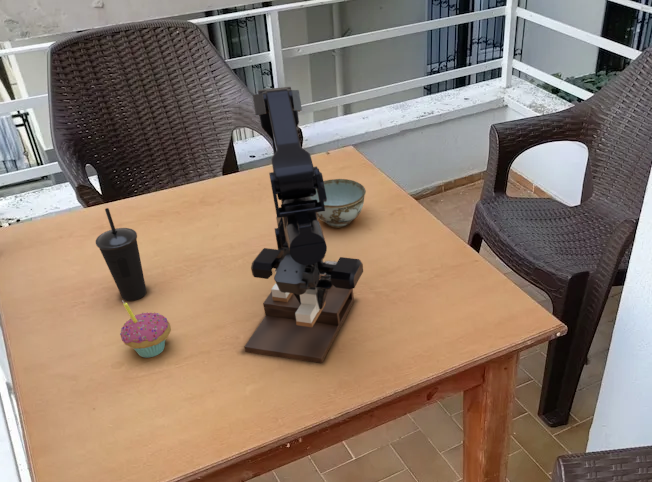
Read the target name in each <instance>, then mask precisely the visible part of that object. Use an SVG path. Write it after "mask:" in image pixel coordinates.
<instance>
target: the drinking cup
mask: <svg viewBox="0 0 652 482" xmlns="http://www.w3.org/2000/svg"><path fill="white" fill-rule="evenodd" d="M104 211H105V214H106V217H107V220H108V223H109V226H110V229H109V230H107V231H104V232H103V233H100V234H99V235H98V236H97V237H96V239H95V245H96V247H97V248H98V249H99V250H100V253H101V255H102V257H103V260H104V261H105V264H106V266H107V268H108V270H109V272H110V275H111V277H112V279H113V281H114V283H115V285H116V287H117V289H118V292H119V294H120V296H121V297H122V300H123V301H127V302H133V301H137V300H141V299H142V298H144V297H145V296H146V295H147V287H146V286H147V285H146V281H145V278H144V271H143V267H142V261H141V255H140V251H139V245H138V240H137V239H138V233H137V231H136V230H134V229H133V228H129V227H117V228H116V227H115V224H114V220H113V218H112V217H113V216H112V215H111V211H110V208H108V207H107V208H104Z"/></svg>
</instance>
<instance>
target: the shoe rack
mask: <svg viewBox="0 0 652 482" xmlns="http://www.w3.org/2000/svg"><path fill="white" fill-rule="evenodd" d="M325 303H326V304H325V306H324V308H323V310H322V311H321V313H320V315H319V317H318V318H317V320H316V322H315V324H314V325H313V327H306V326H299V325H296V316H295V313H296V311H297V310H298V308H299V306H300V305H301V304H300V303H299V301H298V300H297V298H296V297H295V295H294V293H293V294H292V296H291V297H290V299H289V300H288V302H281V301H274V300H273V298H272V290H270V293H269V294H268V295H267V297H266V298H265V300H264V301H263V304H262V305H263V310H264V317H263V318H262V320H261V321H260V323H259V324H258V326H257V327H256V329H255V330H254V332H253V333H252V335H250V338H249V339H248V341H246V344H245V345H244V352H246V353H251V354H252V353H253V354H258V355H265V356H272V357H278V358H285V359H292V360H297V361H298V360H300V361H304V362H305V361H306V362H312V363H320V364H322V363H323V362H324V360H325V359H326V357H327V354H328V352H329V351H330V348H331V347H332V346H333V342H334V341H335V339H336V337H337V335H338V334H339V331H340V329H341V328H342V325H343V323H344V322H345V320H346V319H347V316H348V314H349V313H350V310H351V309H352V306H354V305H353V304H354V303H355V296H354V288H353V289H342V288H336V287H335V286H334V285H333V287H332V288H331V289H329V290H328V293H327V296H326V299H325Z"/></svg>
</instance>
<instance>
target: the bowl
mask: <svg viewBox="0 0 652 482" xmlns="http://www.w3.org/2000/svg"><path fill="white" fill-rule="evenodd" d="M323 181H324V187H325V192H326V197H327V201H326V202H324V206H325V211H322V212H317V216H318V220H320V221H322V222H323V223H326V225H327V226H329V227H331V228H345V227H347V226H349V225H350V224H351V223H352V221H354V220H355V219H356V218H358V216H359V215H360V214H361V212H362V210H363V207H364V203H365V195H366V192H367V190H366V187H365V186H364V185H363V184H362V183H360V182H358V181H355V180H353V179H345V178H333V179H327V180H323ZM310 198H311V199H312V200H315V199H316V200H317V202H319V198H318V193H317V189H316V195H314V196H311V197H310Z"/></svg>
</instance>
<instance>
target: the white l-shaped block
mask: <svg viewBox="0 0 652 482" xmlns="http://www.w3.org/2000/svg"><path fill="white" fill-rule="evenodd" d="M270 291H272V298H273V300H274V301H281V302H288V300H289V299H290V297H291V296H292V294H293V293H287V292H286V293H283V292H280V290H279V288H278V286H277V284H276V282H275V283H274V285H273V286H272V287H271V289H270Z"/></svg>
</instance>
